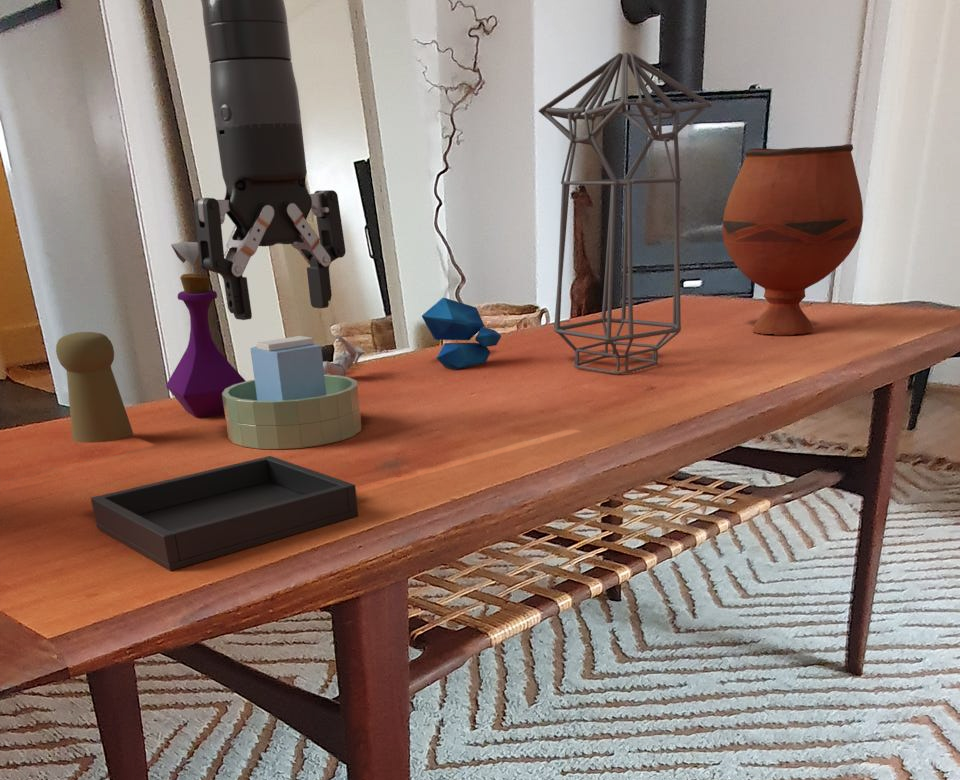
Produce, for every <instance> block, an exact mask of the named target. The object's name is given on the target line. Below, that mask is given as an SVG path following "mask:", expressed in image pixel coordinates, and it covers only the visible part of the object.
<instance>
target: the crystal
mask: <svg viewBox="0 0 960 780" xmlns="http://www.w3.org/2000/svg"><path fill="white" fill-rule="evenodd" d="M421 318H422V320H423V321H424V324H425V325H426V327H427V329H428V331H429V332H430V335H431V336H432V338H433V340H436V341H470V340H472V338H473V337H475V341H476V342H445V343H444V344H443V345H442V348H441V349H440V351H439V352H438V355H437V356H436V359H437V361H438V362H439V363H440V364H441V365H442V366H443V367H444V368H446V367H447V368H446V369H451V368H452V369H453V370H462V369H461V368H463V369H467V368H471V367H470V366H472V367H475V366H474V365H476V366H479V365H478V364H481V365H483V364H482V363H485V364H486V363H487V361H488V359H489V356H490V354H491V351H490V349H489V348H488V347H494V346H495V347H496V346H497V345H498V343H499V342H500V340H501V338H502V335H501V334H500V333H499V332H498V331H496V330H495V329H492V328H489V327H485V324H484V322H483V319H482V317H481V314H480V313H479V310H478V308H477V307H476V306H472V305H470V304H466V303H464V302H459V301H456V300H453V299H450V298H447V297H441V298H440V299H439V300H438V301H437V302H436V303H434V305H432V306H430V308H428V310H427V311H425V312H424V313H423V314H422V315H421ZM475 335H476V336H475ZM466 367H467V368H466ZM452 369H451V370H452Z"/></svg>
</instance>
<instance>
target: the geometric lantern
mask: <svg viewBox="0 0 960 780" xmlns="http://www.w3.org/2000/svg"><path fill="white" fill-rule="evenodd" d="M628 67H629V69H630V71H631V73H632V75H633V77H634V79H635V84H636V89H637V94H638V95H637V96H638V98H637V99H636V101H628V89H629V88H628V83H629V82H628V80H629V79H628V75H629V72H628V71H629V69H628ZM620 71H621V81H620V82H621V83H620V84H621V86H620V87H621V88H620V100H619V101H615V96H616V91H617V88H618V87H617V86H618V82H619V77H620ZM646 72H648V73H649V74H651V75H652V76H654V77H656V78H657V79H659V80H661V81H662V82H664V83H666V84H668V85H669V86H671V87H672V88H674V89H676V90H677V91H679V92H681V93H682V94H684V95H685V96H687V97H689V98H691V99H692V100H693V101H695V102H697V103H692V104H688V105H683V106H679V107H677V106H676V105H675V104H674V102H673V101H672V100H671V99H670V98H669V97H668V95H667V94H666V93H665V92H663V90H662V89H661V88H660V87H659V85H657V83H655V82H654V80H653V79H652V78H651V77H650V76H649V74H647V73H646ZM597 77H598V78H597ZM596 78H597V79H596ZM614 78H615V80H614ZM594 79H596V80H595V81H594ZM592 81H594V82H593V84H591V86H590V87H589V89H588V90H587V91H586V92H585V94H583V96H582V97H581V98H580V100H578V103H576V105H575V106H574V107H568V108H563V107H555V106H556V105H557V104H559V103H560V102H562V101H563V100H564V99H566V98H568V97H569V96H570V95H572V94H573V93H575V92H576V91H578V90H580V89H581V88H582V87H584V86H586V85H587V84H589V83H590V82H592ZM613 81H614V86H613V91H612V96H611V101H610V103H609V104H605V105H603V103H604V101H605V98H606V96H607V94H608V92H609V90H610V88H611V85H612V83H613ZM645 83H646V84H645ZM646 85H647V86H648V87H649V89H651V91H652V92H653V93H654V94H655V96H656V97H657V98H658V99H659V101H660V102H661V103H662V104H663V105H664V106H657V104H656V102H655V100H654V99H653V97H652V95H651V94H650V92H649V90H648V88H647V86H646ZM642 95H643V97H644V98H645V99H643V97H642ZM595 105H596V106H595ZM627 106H636V107H637V108H638V110H639V111H638V110H630V109H627ZM712 106H713V103H711V102H710V101H708V100H706V99H705V98H703V97H702V96H700V95H699V94H697V93H696V92H694V91H692V90H691V89H689V88H688V87H686V86H685V85H683V84H682V83H680V82H678V81H677V80H675V79H674V78H673V77H672V76H670V75H667V74H666V73H664V72H663V71H661V70H660V69H658V68H657V67H656V66H654V65H652V64H650V63H649V62H647V61H646V60H645V59H643V58H641V57H640V56H638V55H637V54H636V53H633V52H630V53H629V52H622V53H621V52H618V53H617V54H616V55H615V56H613V57H611V58H610V59H609V60H607V61H606V62H604V63H603V64H602V65H600V66H599V67H598V68H596V69H594V70H593V71H591V72H590V73H588V74H587V75H586V76H585V77H582V79H581V80H579V81H578V82H575V83H574V84H573V85H572V86H571V87H569V88H568V89H566V90H564V91H563V92H562V93H561V94H559V95H558V96H556V97H555V98H553V99H551V101H549V102H548V103H546V104H545V105H543V106H542V107H541V108H539V109H538V113H540V114H541V115H542V116H543V117H545V119H547V120H548V121H549V122H550V123H551V124H552V125H553V126H555V128H557V129H558V130H559V132H561V133H562V134H563V135H564V136H565V137H566V138H567V139H568V140H569V141H570V142H569V146H568V150H567V153H566V159H565V164H564V168H563V172H562V176H561V181H560V184H561V196H560V197H561V200H560V201H561V202H560V218H559V219H560V220H559V221H560V224H559V245H558V265H557V285H556V298H555V311H554V325H553V331H554V333H556V334H558V336H560V337H561V338H562V340H563V341H564V342H565V343H566V344H567V345H568V346H569V347H570V348H571V349H572V350H573V351H574V364H573V367H574V368H576V369H577V368H579V369H578V370H585V369H586V370H585V371H591V370H593V371H592V372H597V371H600V372H599V373H604V372H608V373H607V374H610V373H615V374H614V375H617V374H622V373H628V374H631V373H634V372H638V371H641V370H645V369H647V368H650V367H654V366H658V365H659V360H658V359H659V350H660V349H661V348H662V347H664V346H665V345H667V343H669V342H670V341H671V340H673V338H675V337H676V336H677V335H679V333H680V332H681V331H682V322H681V321H682V320H681V318H682V316H681V315H682V314H681V312H682V311H681V269H680V267H681V264H680V261H681V260H680V202H681V201H680V199H681V196H680V195H681V181H682V178H681V170H680V169H681V168H680V153H679V151H680V150H679V133H680V132H682V130H683V129H684V128H685V127H687V125H689V124H690V123H691V122H692V121H693V120H695V119H696V118H697V117H698V116H699V115H700V114H701V113H702V112H704V111H705V110H706V109H707V108H708V109H709V108H711V107H712ZM645 108H648V109H649V112H648V111H646V109H645ZM689 111H693V112H692V113H691V114H689V115H688V117H686V119H684V120H683V121H682V122H681V123H680V113H684V112H689ZM583 113H584V114H583ZM662 113H663V114H662ZM616 115H623V117H625V118H626V119H627V120H628V121H630V122H631V123H632V124H633V125H634V126H635V127H636V128H637V129H638V130H640V131H641V133H643V135H645V136H646V137H647V138H648V140H647V141H646V143H645V144H644V146H643V147H642V149H641V151H640V153H639V154H638V156H637V157H636V159H635V160H634V162H633V164H632V166H631V167H630V169H629V170H628V172H627V174H626V175H625V176H624V178H619V179H617V177H616V175H615V173H614V172H613V169H612V168H611V166H610V164H609V162H608V160H607V158H606V156H605V154H604V153H603V150H602V149H601V146H600V144H599V142H598V140H597V139H598V137H599V135H601V133H602V131H603V129H604V128H605V127H606V125H607V124H608V123H609V122H610V121H611V119H613V117H615V116H616ZM604 116H605V117H604ZM555 117H556V118H560V119H564V120H565V119H566V120H568V128H569V129H568V128H566V127H565V126H564V125H563V124H562V123H560V121H558V120H557V119H555ZM601 117H604V118H603V120H602V121H600V123H598V124H597V126H596V127H595V126H594V124H595V121H596V119H597V118H601ZM635 117H642V118H643V120H644V122H645V124H646V126H647V128H648V129H647V128H646V127H645V126H644V125H642V124H641V123H640V122H639V121H638V120H637V119H636V118H635ZM650 118H651V119H654V120H655V121H656V126H655V127H654V125H653V122H652V120H651V119H650ZM668 119H669V120H670V119H673V125H672V131H670V132H665V133H663V130H662V129H663V128H662V127H663V125H662V123H663V122H662V121H663V120H668ZM578 120H584V124H585V131H586V135H582V136H578V137H577V121H578ZM589 120H590V123H589ZM679 123H680V124H679ZM594 127H595V128H594ZM654 141H657V142H663V143H664V144H663V145H664V147H665V152H666V156H667V162H668V167H669V169H670V174H671V177H661V178H659V177H658V178H633V176H634V175H635V173H636V172H637V170H638V168H639V166H640V164H641V162H642V161H643V159H644V157H645V156H646V154H647V153H648V150H649V149H650V147H651V145H652V143H653V142H654ZM670 141H673V153H674V167H673V164H672V159H671V155H670V151H669V146H668V143H669V142H670ZM577 144H583V145H588V146H591V148H592V149H593V151H594V153H595V155H596V156H597V158H598V161H600V163H601V165H602V166H603V169H604V170H605V172H606V173H607V175H608V177H609V178H608V179H607V178H606V179H590V180H571V178H572V177H571V176H572V171H573V166H574V159H575V154H576V149H577ZM674 169H675V172H674ZM565 178H566V179H565ZM662 183H664V184H665V183H666V184H667V183H673V213H674V214H673V219H674V220H673V221H674V223H673V225H674V239H673V240H674V241H673V242H674V245H673V290H672V291H673V293H672V294H673V296H672V297H673V299H672V322H663V321H653V320H642V319H634V297H633V296H634V290H633V289H634V288H633V287H634V285H633V284H634V283H633V282H634V281H633V277H634V276H633V275H634V274H633V185H635V184H636V185H637V184H662ZM591 185H592V186H602V185H603V186H610V197H609V198H610V199H609V212H608V213H609V214H608V223H607V224H608V227H607V241H606V254H605V268H604V269H605V270H604V283H603V294H602V295H603V296H602V297H603V298H602V309H601V318H597V319H591V320H587V321H581V322H576V323H569V324H565V325H561V312H562V311H561V310H562V291H563V290H562V289H563V288H562V287H563V273H564V261H565V251H566V249H565V248H566V239H567V237H566V236H567V226H568V225H567V224H568V213H569V199H570V187H571V186H591ZM617 186H625V187H624V209H623V211H624V212H623V247H622V248H623V250H622V251H623V252H622V253H623V254H622V288H621V289H622V291H621V292H622V293H621V318H613V317H612V316H613V293H614V292H613V290H614V265H615V264H614V263H615V235H616V212H617V210H616V209H617V208H616V207H617ZM627 309H628V311H627ZM626 312H627V313H626ZM626 314H628V315H627V317H628V318H626ZM614 323H615V324H619V326H618V329H617V331H616V335H615V336H612V324H614ZM597 324H602V326H603V327H602V328H603V332H604V335H600V334H594V333H588V332H580V331H574V330H570V329H576V328H581V327H586V326H591V325H597ZM624 324H628V334H624V335H623V334H622V335H620V333H621V332H622V328H623V327H624ZM634 325H642V326H651V327H660V328H661V327H662V328H666V329H660V330H653V331H647V332H640V333H634ZM670 334H671V335H670ZM661 335H663V336H662V337H661V339H659V340H658V342H657V343H656V344H647V343H636V342H633V341H634V340H637V339H643V338H650V337H655V336H661ZM669 335H670V336H669ZM567 336H572V337H580V338H586V339H593V340H598V341H601V342H597V343H593V344H588V345H584V346H581V347H576V346H575V344H573V343H572V341H570V339H569V338H568V337H567ZM626 340H629V341H628V342H624V341H626ZM609 345H611V348H612V353H609V352H608V349H609ZM599 346H604V352H603V351H596V350H589V349H591V348H595V347H599ZM617 346H627V347H626V350H625V352H624V354H620V353H619V351H618V349H617ZM631 347H637V348H638V347H640V348H647V349H642V350H637V351H632V352H630V350H631ZM651 352H652V358H644V357H637V356H636V355H640V354H641V355H642V354H646V353H651ZM580 353H584V354H590V355H597V357H594V358H590V359H587V360H583V361H580ZM609 358H611V359H612V358H615V359H616V370H609V369H604V368H596V367H591V366H584V365H586V364H589V363H592V362H595V361H600V360H603V359H609ZM620 359H625V360H624V361H625V362H624V370H622V371H620V370H621V368H620V367H621V366H620V365H621V361H620ZM629 360H634V361H639V362H647V363H648V364H644V365H641V366H637V367H635V368H634V367H633V368H631V369H629ZM640 369H641V370H640ZM637 370H638V371H637ZM633 371H634V372H633ZM630 372H631V373H630ZM622 375H623V374H622Z"/></svg>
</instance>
